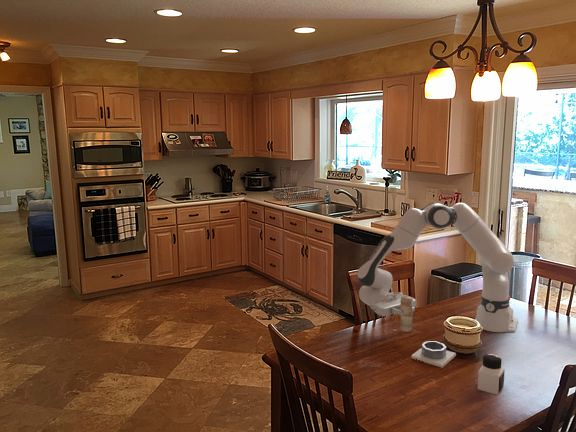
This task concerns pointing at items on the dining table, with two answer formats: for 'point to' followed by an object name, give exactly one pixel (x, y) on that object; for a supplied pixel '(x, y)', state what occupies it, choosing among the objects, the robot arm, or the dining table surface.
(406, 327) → the wooden pin
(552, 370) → the dining table surface
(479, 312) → the robot arm
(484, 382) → the medicine bottle
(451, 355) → the socket board
